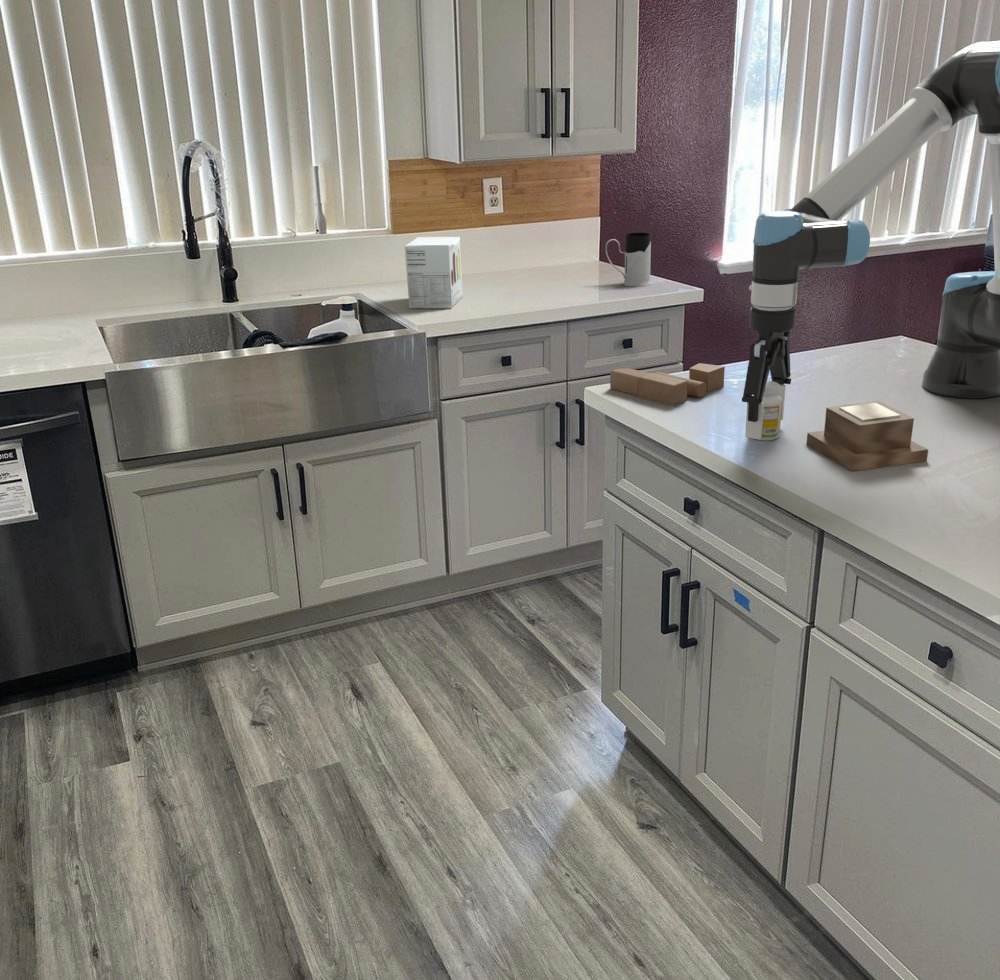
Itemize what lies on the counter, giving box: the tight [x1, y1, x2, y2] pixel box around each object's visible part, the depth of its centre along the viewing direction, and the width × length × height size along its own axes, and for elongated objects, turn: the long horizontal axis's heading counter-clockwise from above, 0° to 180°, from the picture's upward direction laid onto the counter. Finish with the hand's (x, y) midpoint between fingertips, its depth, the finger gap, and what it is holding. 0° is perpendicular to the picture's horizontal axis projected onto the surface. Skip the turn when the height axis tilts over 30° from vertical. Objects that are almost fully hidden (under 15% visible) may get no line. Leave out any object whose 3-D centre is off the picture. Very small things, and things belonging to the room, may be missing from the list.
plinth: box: [806, 400, 929, 472], centre depth 168 cm, size 14×14×7 cm
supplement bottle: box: [752, 380, 782, 441], centre depth 177 cm, size 5×5×10 cm
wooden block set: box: [609, 362, 726, 407], centre depth 206 cm, size 17×6×18 cm
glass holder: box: [605, 232, 652, 288], centre depth 306 cm, size 9×14×15 cm, turn 84°
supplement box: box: [404, 236, 464, 309], centre depth 291 cm, size 17×13×18 cm
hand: (764, 428), depth 178 cm, fingers open, 11 cm apart
